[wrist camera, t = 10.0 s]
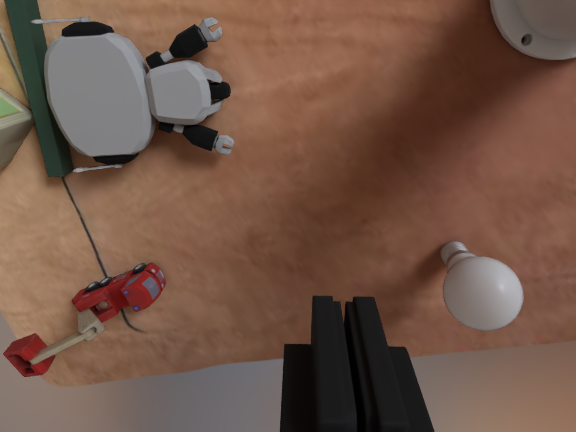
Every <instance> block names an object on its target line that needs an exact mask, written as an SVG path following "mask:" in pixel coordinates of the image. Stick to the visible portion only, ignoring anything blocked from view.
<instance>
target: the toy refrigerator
mask: <svg viewBox="0 0 576 432" xmlns="http://www.w3.org/2000/svg"><path fill="white" fill-rule="evenodd" d="M34 123H35V121H34V117H33V113H32V111H31V110H29V109H28V108H27V107H25V106H24V105H23V104H21V103H20V102H19V101H17V100H16V99H14V98H13V97H12V96H10V95H9V94H8V93H6V92H5V91H4V90H2V89H1V88H0V169H1V168H3V167H5V166H6V165H8V164H9V162H10V161H11V159H12V158H13V156H14V155H15V153H16V151H17V150H18V148H19V147H20V145H21V144H22V142H23V140H24V139H25V137H26V136H27V134H28V132H29V131H30V129H31V127H32V126H33V124H34Z"/></svg>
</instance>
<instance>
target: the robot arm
mask: <svg viewBox="0 0 576 432" xmlns="http://www.w3.org/2000/svg"><path fill="white" fill-rule="evenodd" d="M490 7H491V12H492V15H493V18H494V21H495V24H496V26H497V28H498V30H499V31H500V33H501V35H502V36H503V38H504V39H505V40H506V41H507V42H508V43H509V44H510V45H511V46H512V47H514V48H515V49H517V50H518V51H520V52H522V53H523V54H526V55H529V56H532V57H535V58H540V59H547V60H565V59H570V58H576V0H490ZM522 37H524V41H523V42H522V43H521V39H522ZM280 432H434V429H433V426H432V423H431V420H430V417H429V414H428V411H427V408H426V405H425V402H424V399H423V396H422V393H421V390H420V387H419V384H418V381H417V378H416V375H415V372H414V369H413V366H412V363H411V360H410V357H409V354H408V351H407V349H406V348H405V347H392V346H388V345H387V341H386V337H385V334H384V330H383V327H382V323H381V319H380V316H379V312H378V308H377V305H376V301H375V298H374V297H355V296H354V297H353V302H346V304H345V315H344V323H343V316H342V309H341V303H340V301H333V297H332V296H313V298H312V323H311V344H285V345H284V363H283V382H282V402H281V421H280Z"/></svg>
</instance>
